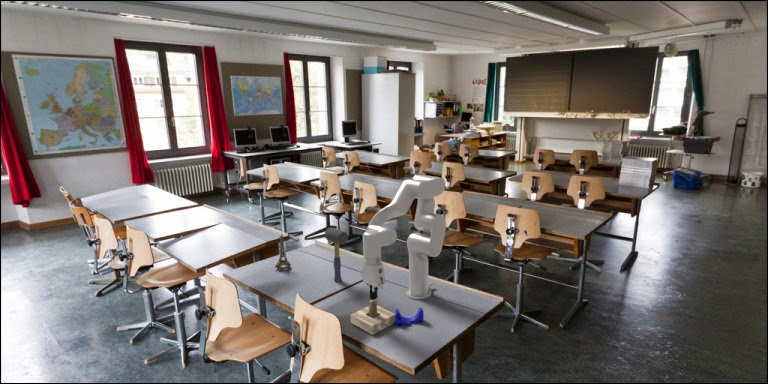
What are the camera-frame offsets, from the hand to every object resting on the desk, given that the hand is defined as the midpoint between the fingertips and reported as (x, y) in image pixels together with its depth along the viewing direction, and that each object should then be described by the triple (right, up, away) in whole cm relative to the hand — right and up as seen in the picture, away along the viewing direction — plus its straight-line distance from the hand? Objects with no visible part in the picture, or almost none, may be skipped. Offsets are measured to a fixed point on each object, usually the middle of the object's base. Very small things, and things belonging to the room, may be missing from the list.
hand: (373, 298), depth 182 cm
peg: (0, -11, +1) cm, 11 cm away
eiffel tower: (-54, +1, +62) cm, 83 cm away
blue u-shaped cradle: (+16, -11, +1) cm, 19 cm away
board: (0, -11, +1) cm, 11 cm away
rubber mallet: (-20, -2, +44) cm, 48 cm away
